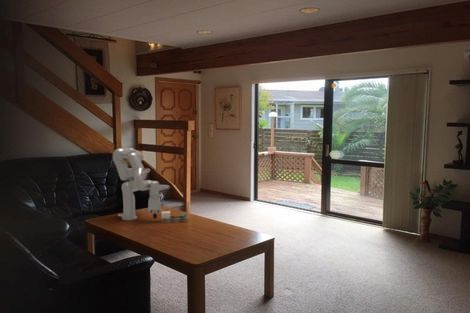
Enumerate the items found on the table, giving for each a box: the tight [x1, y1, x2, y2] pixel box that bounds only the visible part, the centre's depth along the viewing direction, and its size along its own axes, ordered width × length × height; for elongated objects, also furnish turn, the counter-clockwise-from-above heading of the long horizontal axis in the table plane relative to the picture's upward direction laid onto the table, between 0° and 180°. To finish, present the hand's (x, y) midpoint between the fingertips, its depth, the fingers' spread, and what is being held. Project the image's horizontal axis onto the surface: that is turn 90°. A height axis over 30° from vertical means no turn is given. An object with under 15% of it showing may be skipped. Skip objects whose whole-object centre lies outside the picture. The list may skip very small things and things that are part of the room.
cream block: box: [161, 210, 171, 220], centre depth 319 cm, size 7×4×6 cm, turn 100°
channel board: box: [161, 212, 188, 224], centre depth 320 cm, size 20×12×6 cm, turn 100°
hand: (155, 218), depth 318 cm, fingers closed
